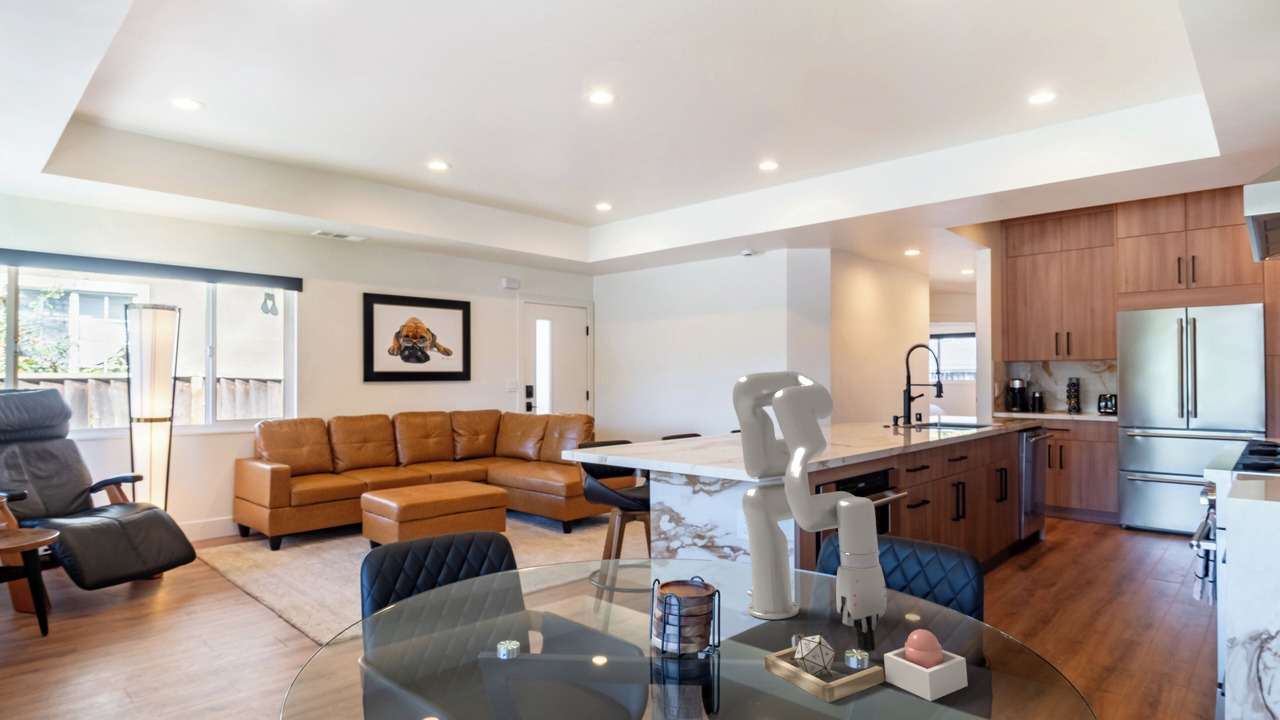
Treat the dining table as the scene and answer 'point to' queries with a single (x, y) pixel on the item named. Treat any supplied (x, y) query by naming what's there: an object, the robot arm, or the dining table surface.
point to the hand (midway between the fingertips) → (866, 648)
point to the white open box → (926, 674)
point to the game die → (814, 655)
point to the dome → (923, 649)
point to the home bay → (815, 686)
